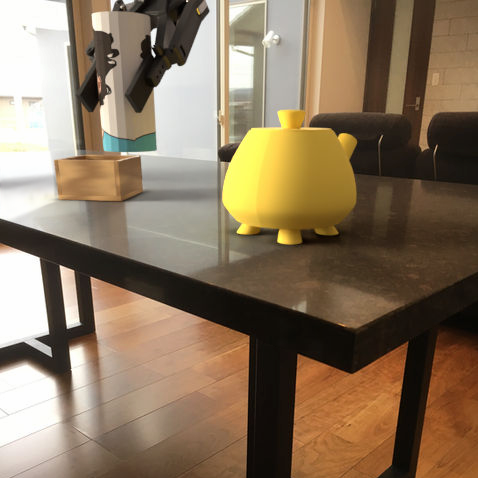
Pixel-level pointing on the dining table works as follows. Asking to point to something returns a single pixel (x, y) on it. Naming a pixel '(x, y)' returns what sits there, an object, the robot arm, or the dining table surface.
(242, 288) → the dining table surface
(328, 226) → the teapot
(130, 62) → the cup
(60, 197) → the box
